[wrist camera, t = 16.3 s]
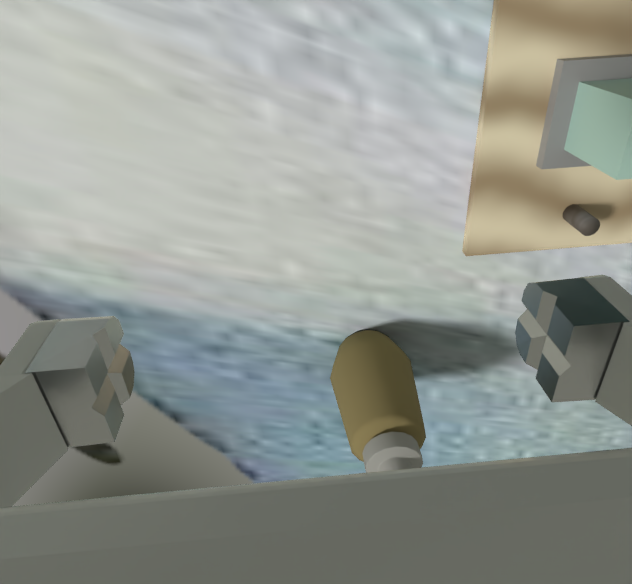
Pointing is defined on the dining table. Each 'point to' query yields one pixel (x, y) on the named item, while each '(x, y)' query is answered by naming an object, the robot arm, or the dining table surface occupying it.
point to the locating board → (526, 132)
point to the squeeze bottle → (378, 402)
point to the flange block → (590, 116)
